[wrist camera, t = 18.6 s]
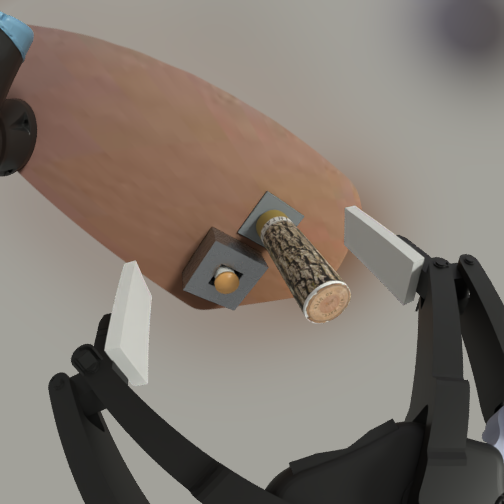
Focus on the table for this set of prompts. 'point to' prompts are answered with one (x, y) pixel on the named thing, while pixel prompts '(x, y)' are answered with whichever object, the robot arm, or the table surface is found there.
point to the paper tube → (303, 268)
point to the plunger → (226, 280)
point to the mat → (263, 206)
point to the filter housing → (210, 259)
